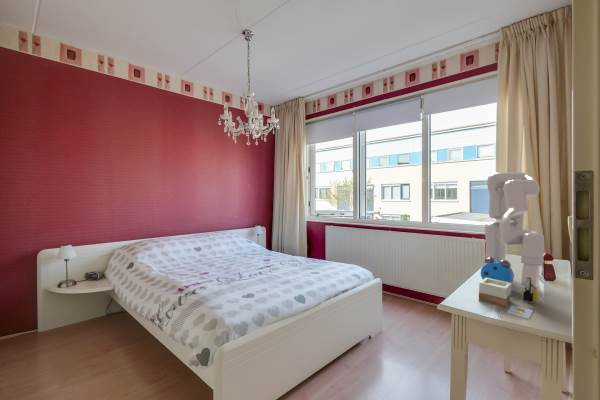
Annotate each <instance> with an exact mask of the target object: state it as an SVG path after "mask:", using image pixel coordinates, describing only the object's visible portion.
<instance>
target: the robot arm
mask: <svg viewBox="0 0 600 400" xmlns="http://www.w3.org/2000/svg"><path fill="white" fill-rule="evenodd" d="M486 185H487V189H488V193H489V203H488V216H489V218H490V219H492V220H496V221H490V222H487V223H485V225H484V235H485V236H484V237H485V256H484V257H485V258H484V260H485V259H486V258H487V257H488V258H489V257H492V258H494V259H495V261H497V260H498V261H501V260H506V259H507V246H506V245H508V246H521V258H520V264H523V265H522V269H521V270H522V272H521V282H520V283H521V284H520V285H521V286H522V287H523V286H524V287H523V288H524V294H523V295H522V297H523V299H522V300H523V301H525V302H527V303H529V302H531V303H533V293H532V292H533V288H536V289H537V288H538V283H539V277H540V267H543V266H544V250H545V236H544V235H543V234H542V233H538V232H537V231H535V230H533V229H532V230H530V229H524V219H525V213H527V212H528V211H529V210H530V206H529V202H528V197H536V196H538V195H539V194H540V191H541V190H540V188H541V187H540V184H539V183H538V181H537V180H536V178H534V177H532V176H531V175H530V174H528V173H526V172H520V171H519V172H508V171H507V172H504V171H502V172H493V173H491V174H489V175H488V178H487V181H486ZM498 220H499V221H498ZM496 259H497V260H496ZM488 263H489V262H488ZM485 264H487V263H485V262H484V265H485ZM530 285H531V286H530ZM530 288H531V289H530ZM537 290H538V289H537Z"/></svg>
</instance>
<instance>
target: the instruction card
mask: <svg viewBox="0 0 600 400" xmlns="http://www.w3.org/2000/svg"><path fill="white" fill-rule="evenodd" d="M533 312H534V310H531V309H527V308H524V307H520V306H515V305H511V306H510V308H509V309H508V310H507V312H506V313H507V314H508V315H513V316H517V317H520V318H522V319H527V320H529V319H530V317H531V316H532V314H533Z"/></svg>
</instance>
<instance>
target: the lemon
mask: <svg viewBox="0 0 600 400" xmlns="http://www.w3.org/2000/svg"><path fill="white" fill-rule="evenodd" d="M530 286H531V285H530ZM530 289H531V288H530ZM521 293H522V294H521V295H522V296H523V294H524V287H523V288H522V291H521ZM532 293H533V302H536V301H537V300H538V298H539V292H538V289H536V288H533V292H532ZM533 302H528V303H533Z"/></svg>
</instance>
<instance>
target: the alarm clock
mask: <svg viewBox="0 0 600 400" xmlns="http://www.w3.org/2000/svg"><path fill="white" fill-rule="evenodd" d="M496 260H497V259H496ZM483 261H484V265H482V267H481V269H480V277H481V279H482V280H483V279H484V278H490V279H495V280H499V281H504V282H509V283H513V282H514V279H515V278H514V277H515V274H514V271H513V270H512V268H511V267H512V264H511V262H509V260H508V259H507V260H501V261H498V260H497V261H495V259H494V258H492V257H489V258H488V257H487V258H486V259H485V258H484V260H483ZM488 262H489V263H488ZM485 263H487V264H485Z"/></svg>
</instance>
